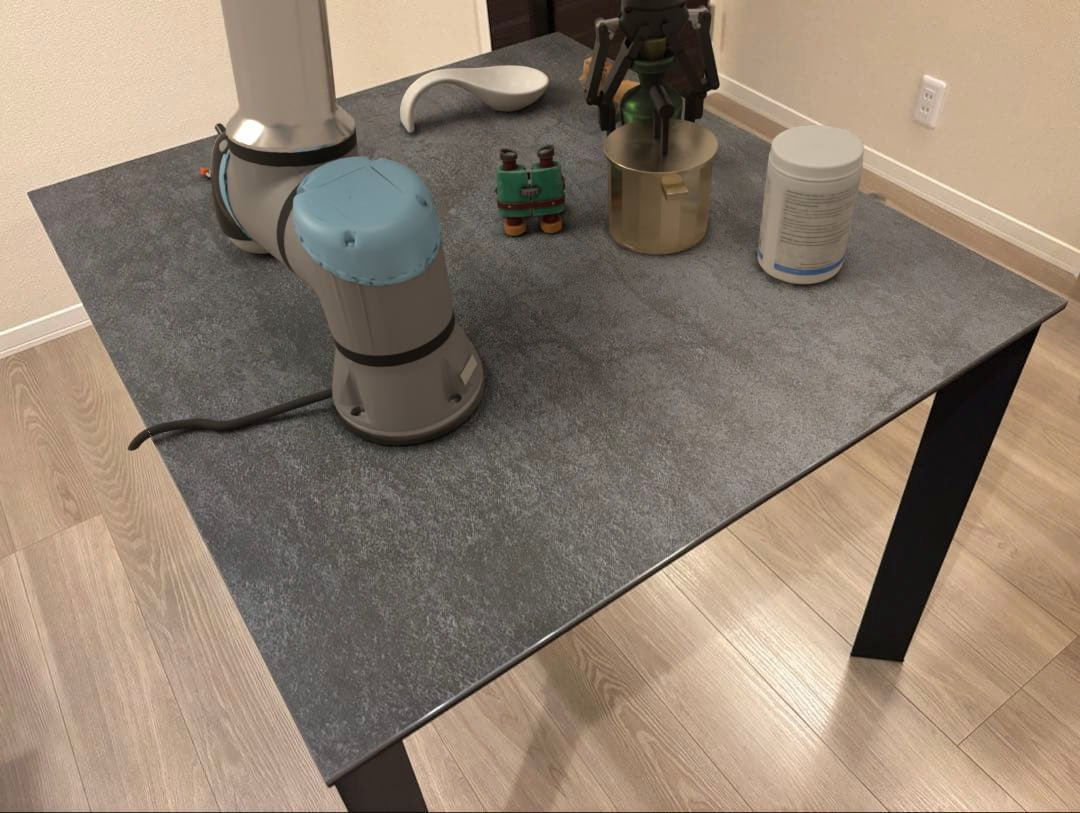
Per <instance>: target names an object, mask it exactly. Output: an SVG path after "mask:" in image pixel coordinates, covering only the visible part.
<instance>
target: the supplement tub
mask: <svg viewBox="0 0 1080 813" xmlns="http://www.w3.org/2000/svg"><path fill="white" fill-rule="evenodd" d="M864 154H865V145H864V142H863V141H862V140H861V138H859V137H858V136H857V135H856V134H855V133H853V132H850V131H849V130H847V129H843V128H840V127H837V126H831V125H822V124H809V125H808V124H807V125H799V126H794V127H791V128H788V129H785V130H783V131H781V132H780V133H778V134H777V135H776V136H775V137H774V138H773V140H772V142H771V146H770V152H769V153H768V159H767V160H768V161H767V167H766V175H765V176H766V177H765V185H764V193H763V202H762V212H761V220H760V227H759V228H760V229H759V237H758V246H757V261H758V264H759V266H760V267H761V269H762V270H763V271H764V272H765V273H767V274H768V275H769V276H771V277H772V278H774V279H777V280H779V281H783V282H786V283H789V284H795V285H810V284H818V283H822V282H824V281H827V280H829V279H831V278H833V277H834V276H836V274H838V273H839V271H840V270H841V269H842V267H843V264H844V261H845V256H846V251H847V247H848V246H847V245H848V241H849V236H850V231H851V227H852V222H853V216H854V212H855V207H856V203H857V198H858V193H859V187H860V183H861V179H862V174H863V169H864V168H863V166H864Z"/></svg>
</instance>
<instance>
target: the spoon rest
mask: <svg viewBox="0 0 1080 813" xmlns="http://www.w3.org/2000/svg"><path fill="white" fill-rule="evenodd" d="M549 83H550V79H549V77H548V76H547V75H546V73H544V72H543V71H542V70H539V69H537V68H534V67H531V66H524V65H509V64H508V65H493V66H484V67H483V66H482V67H465V68H464V67H462V68H461V67H459V68H457V67H456V68H455V67H454V68H453V67H451V68H443V69H437V70H432V71H430V72H428V73H426V74H423V75H422V76H419V77H418V78H417V79H415V81H413V83H411V85H409V87H408V88H407V90H406V91H405V93H404V94H403V96H402V100H401V103H400V108H399V117H400V122H401V125H403V127H404V129H406V131H407V132H408V133H409V134H412V133H414V131H415V117H414V116H415V115H414V114H415V107H416V104H417V102H418V100H419V99H420V98H421V96H422V95H423V94H425V92H427V91H428V90H430V89H431V88H433V87H435V86H438V85H441V84H442V85H443V84H450V85H455V86H458V87H460V88H462V89H463V90H465V91H467V92H468V93H469V94H471V95H473V96H474V97H476V99H478V100H479V101H481V102H482V103H484V104H485V105H487V106H489V107H490V108H492V109H493V110H495V111H500V112H515V111H520V110H522V109H524V108H526V107H527V106H530V105H532V104H533V103H535V102H536V101H537V100H539V99H540V98H541V96H542V95H543V94H544V93H545V91H546V90H547V89H548V86H549Z"/></svg>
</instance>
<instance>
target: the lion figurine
mask: <svg viewBox="0 0 1080 813" xmlns="http://www.w3.org/2000/svg"><path fill="white" fill-rule="evenodd" d="M591 58H592V56H589V57H587V58H586V59H584V60H583V68H582V70H583V71H582V74H581V75H580V76H579V77H578V81H579V83H581V85H582V86H581V87H582V88H583V89H584V88H585V83H586V79H587V75H588V71H589V67H590V62H591ZM612 65H613V64H612V63H611V61H609V60H607V59H606V62H605V66H604V70H603V74H602V78H601V82H600V86H599V90H598V92H599V91H600V89H601V87H602V85H603V83H604V81H605V79H606V77H607V75H608V73H609V71H610V69H611V67H612ZM639 84H640V82H639V81H633V80H629V79H627V78H624V79H623V81H622V83H621V85H620V86H619V88H618V90H617V92H616V94H615V96H614V98H613V100H612V101H613V104H614V106H615V108H616V116H617V115H618V114H619V109H620V101H621V99H622V97H623V95H624V94H625V93H626V92H627V91H628V90H629V89H631V88H633V87H635V86H637V85H639Z"/></svg>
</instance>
